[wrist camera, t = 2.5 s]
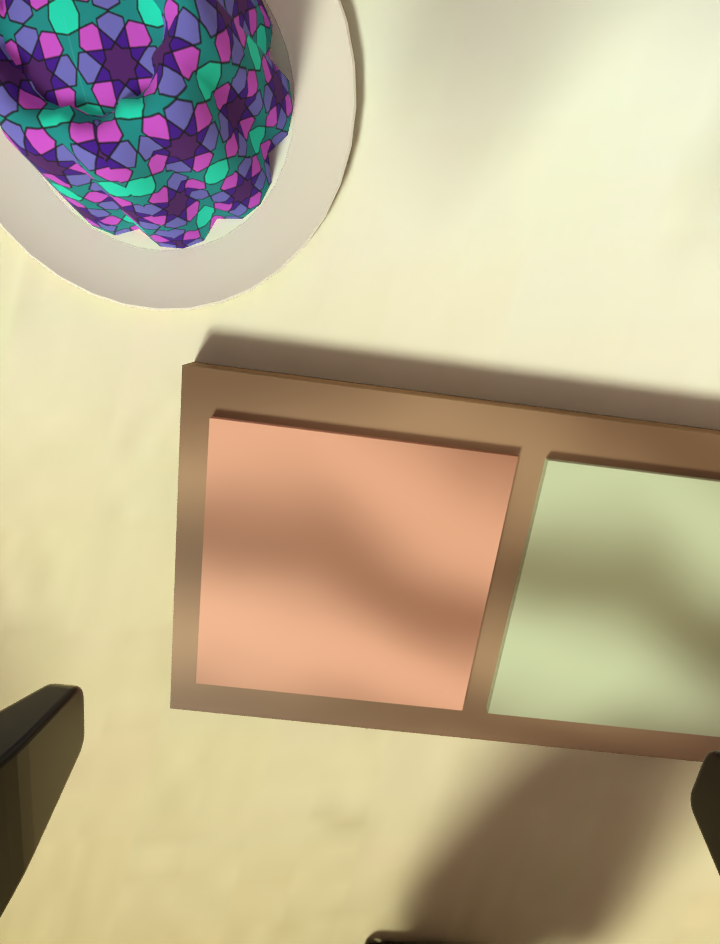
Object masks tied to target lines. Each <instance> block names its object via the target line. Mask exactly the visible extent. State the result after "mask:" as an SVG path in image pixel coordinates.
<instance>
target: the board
mask: <svg viewBox="0 0 720 944" xmlns="http://www.w3.org/2000/svg"><path fill="white" fill-rule="evenodd" d="M170 708H172V709H182V710H192V711H202V712H212V713H222V714H232V715H242V716H252V717H262V718H272V719H281V720H291V721H301V722H311V723H321V724H331V725H341V726H351V727H361V728H371V729H381V730H391V731H401V732H411V733H421V734H431V735H441V736H451V737H461V738H471V739H481V740H491V741H501V742H510V743H520V744H530V745H540V746H550V747H560V748H570V749H580V750H590V751H600V752H610V753H620V754H630V755H640V756H650V757H660V758H670V759H680V760H690V761H700V762H703V761H704V758H705V756H706V755H707V754H708V753H709V752H711V751H720V430H712V429H705V428H697V427H689V426H682V425H674V424H666V423H659V422H651V421H643V420H635V419H628V418H620V417H612V416H605V415H597V414H589V413H582V412H574V411H566V410H559V409H551V408H543V407H536V406H528V405H520V404H513V403H505V402H497V401H490V400H482V399H474V398H466V397H459V396H451V395H443V394H436V393H428V392H420V391H413V390H405V389H397V388H390V387H382V386H374V385H367V384H359V383H351V382H344V381H336V380H328V379H320V378H313V377H305V376H297V375H290V374H282V373H274V372H267V371H259V370H251V369H244V368H236V367H228V366H221V365H213V364H205V363H198V362H192V363H188V364H185V365H182V390H181V418H180V447H179V475H178V503H177V531H176V559H175V587H174V616H173V644H172V672H171V700H170Z"/></svg>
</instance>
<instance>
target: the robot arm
mask: <svg viewBox="0 0 720 944" xmlns="http://www.w3.org/2000/svg"><path fill="white" fill-rule="evenodd" d="M83 740H84V698H83V692H82V689H81V688H80V687H78V686H74V685H64V684H49V685H47V686H44V687H43V688H41V689H39V690H37V691H35V692H34V693H32V694H30V695H28V696H26V697H25V698H23V699H21V700H19V701H17V702H16V703H14V704H12V705H10V706H8V707H7V708H5V709H3V710H1V711H0V917H1V915H2V914H3V912H4V910H5V908H6V906H7V905H8V903H9V901H10V899H11V898H12V896H13V894H14V892H15V890H16V888H17V887H18V885H19V883H20V881H21V879H22V877H23V876H24V874H25V872H26V870H27V867H28V865H29V863H30V861H31V859H32V857H33V855H34V853H35V851H36V848H37V846H38V844H39V842H40V840H41V837H42V835H43V833H44V831H45V829H46V826H47V824H48V822H49V820H50V818H51V815H52V813H53V811H54V809H55V807H56V804H57V802H58V800H59V798H60V795H61V793H62V791H63V789H64V787H65V784H66V782H67V780H68V778H69V776H70V773H71V771H72V769H73V767H74V765H75V762H76V760H77V758H78V756H79V753H80V751H81V748H82V744H83ZM691 806H692V810H693V813H694V816H695V818H696V821H697V823H698V826H699V828H700V830H701V833H702V835H703V837H704V840H705V842H706V844H707V847H708V849H709V851H710V854H711V856H712V859H713V861H714V863H715V866H716V868H717V870H718V873H719V875H720V751H711V752H709V753H708V754H707V755H706V756H705V758H704V761H703V763H702V766H701V769H700V771H699V774H698V776H697V779H696V781H695V784H694V787H693V789H692V792H691ZM370 944H378V943H370Z"/></svg>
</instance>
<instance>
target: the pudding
mask: <svg viewBox="0 0 720 944" xmlns="http://www.w3.org/2000/svg"><path fill="white" fill-rule="evenodd" d="M265 1H266V3H267V5H268V7H269V9H270V11H271V12H272V14H273V16H274V18H275V20H276V22H277V24H278V26H279V29H280V32H281V35H282V37H283V40H284V43H285V46H286V48H287V51H288V56H289V61H290V66H291V71H292V76H293V84H294V102H295V111H294V122H293V132H292V138H291V142H290V146H289V150H288V153H287V157H286V161H285V164H284V166H283V168H282V170H281V173H280V175H279V177H278V179H277V182H276V184H275V186H274V187H273V189H272V190H271V192H270V193H269V195H268V196H267V198H266V199H265V201H264V202H263V204H262V205H261V206H260V207H259V208H258V209H257V210H256V211H255V212H254V213H253V214H252V215H251V216H250V217H249V218H248V219H247V220H246V222H244V223H243V224H242V225H240V226H239V227H237V228H236V229H234V230H233V231H232V232H230V233H229V234H227V235H226V236H224V237H221V238H219V239H217V240H215V241H212V242H210V243H208V244H206V245H202V246H197V247H193V248H189V249H184V250H162V251H160V250H153V249H147V248H140V247H135V246H132V245H129V244H126V243H124V242H121V241H118V240H115V239H113V238H111V237H109V236H107V235H105V234H103V233H101V232H100V231H98V230H96V229H94V228H92V227H91V226H90V225H88V224H87V223H86V222H84V221H83V220H82V219H80V218H79V217H78V216H76V215H75V214H74V213H72V212H71V211H70V210H69V209H68V208H67V207H66V206H65V204H64V203H63V202H62V201H61V200H60V199H59V198H58V197H57V196H56V195H55V194H54V193H53V192H52V190H51V189H50V188H49V186H48V185H47V184H46V182H45V181H44V179H43V178H42V177H41V175H40V174H39V172H40V173H41V174H42V175H43V176H44V177H45V178H46V180H47V181H48V182H49V183H50V184H51V185H52V186H53V187H54V188H55V189H56V190H57V191H58V192H59V193H60V194H61V195H62V196H63V197H64V198H65V199H66V200H67V201H68V202H69V203H70V204H71V205H72V206H73V207H74V209H76V210H77V211H78V212H79V213H80V214H81V215H82V216H83V217H84V218H85V219H86V220H87V221H88V222H89V223H90V224H91V225H92V226H94V227H96V228H99V229H101V230H104V231H106V232H109V233H111V234H114V235H118V234H122V233H125V232H129V231H133V230H136V229H140V230H141V231H143V232H144V233H145V234H146V235H147V236H149V237H150V238H151V239H152V240H153V241H154V242H156V243H157V244H158V245H159V246H162V247H173V248H185V247H188V246H191V245H193V244H196V243H199V242H202V241H204V239H205V238H206V236H207V234H208V233H209V231H210V229H211V228H212V226H213V224H214V223H215V221H216V219H243V218H244V217H245V216H246V215H248V214H249V213H250V212H251V211H253V210H254V209H255V208H256V207H258V206H259V205H260V204H261V202H262V200H263V198H264V196H265V194H266V192H267V190H268V188H269V186H270V184H271V174H270V165H269V156H268V153H269V152H270V151H271V150H272V149H273V148H275V147H276V146H277V145H278V144H279V143H280V142H281V141H282V140H283V139H284V138H285V137H286V136H287V135H288V131H289V126H290V121H291V116H292V111H293V105H292V99H291V93H290V86H289V80H288V79H287V78H286V77H285V76H284V75H283V73H282V72H281V71H280V70H279V69H278V68H277V66H276V65H275V64H274V63H273V62H272V61H271V59H270V58H269V51H270V43H271V34H272V23H271V21H270V19H269V16H268V14H267V12H266V9H265V7H264V5H263V2H262V0H0V226H1V227H2V229H3V230H4V231H5V232H6V233H7V234H8V235H9V236H10V237H11V238H12V239H13V240H14V241H15V242H16V243H17V244H18V245H19V246H20V247H21V248H22V249H23V250H24V251H25V252H26V253H27V254H28V255H29V256H30V257H32V258H33V259H34V260H36V261H37V262H38V263H40V264H41V265H43V266H44V267H45V268H47V269H48V270H49V271H51V272H52V273H53V274H55V275H56V276H57V277H59V278H60V279H62V280H64V281H66V282H68V283H70V284H72V285H73V286H75V287H77V288H79V289H81V290H83V291H85V292H87V293H89V294H91V295H93V296H96V297H99V298H102V299H105V300H108V301H111V302H114V303H117V304H120V305H123V306H128V307H135V308H142V309H149V310H155V311H171V310H192V309H197V308H201V307H206V306H210V305H215V304H219V303H223V302H226V301H228V300H230V299H233V298H235V297H237V296H239V295H242V294H244V293H246V292H249V291H251V290H253V289H255V288H256V287H258V286H259V285H260V284H262V283H263V282H265V281H266V280H268V279H269V278H271V277H272V276H274V275H275V274H277V273H278V272H280V271H281V270H282V269H283V268H284V267H285V266H286V265H287V264H288V263H289V262H290V261H291V260H292V259H293V258H294V257H295V256H296V255H297V254H298V253H299V252H300V251H301V250H302V249H303V248H304V247H305V246H306V244H307V243H308V241H309V240H310V238H311V237H312V236H313V234H314V233H315V231H316V230H317V228H318V227H319V226H320V224H321V223H322V221H323V220H324V218H325V217H326V214H327V212H328V210H329V208H330V206H331V204H332V202H333V200H334V198H335V195H336V193H337V191H338V189H339V187H340V185H341V182H342V178H343V175H344V171H345V168H346V164H347V161H348V157H349V154H350V150H351V146H352V138H353V130H354V122H355V113H356V78H355V61H354V55H353V50H352V44H351V39H350V33H349V27H348V22H347V18H346V15H345V13H344V10H343V7H342V4H341V1H340V0H265ZM37 170H38V171H39V172H38V171H37Z"/></svg>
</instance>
